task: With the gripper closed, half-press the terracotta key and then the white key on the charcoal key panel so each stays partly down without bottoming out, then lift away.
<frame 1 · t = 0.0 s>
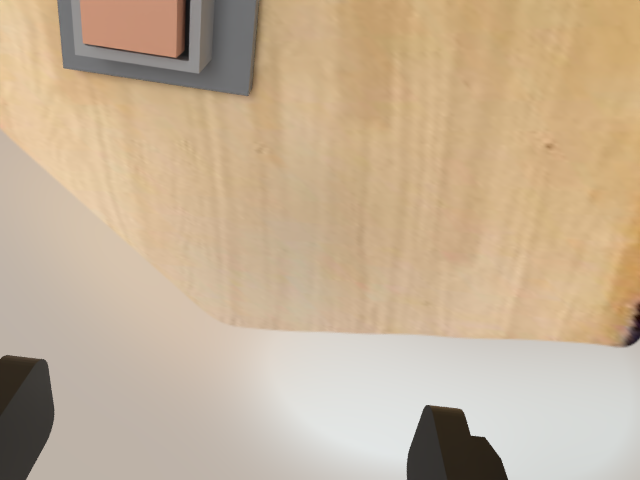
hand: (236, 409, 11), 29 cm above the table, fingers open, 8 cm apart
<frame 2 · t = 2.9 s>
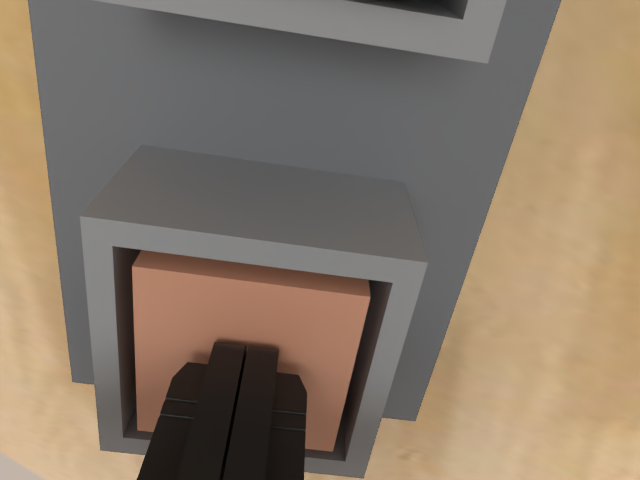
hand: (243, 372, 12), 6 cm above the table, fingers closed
terracotta key: (249, 340, 13), point 5 cm above the table, slide at 1.3 cm, touching gripper
key panel: (288, 70, 15), on the table
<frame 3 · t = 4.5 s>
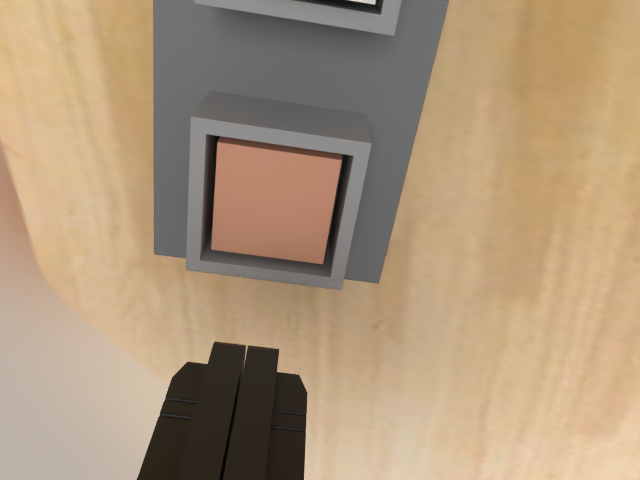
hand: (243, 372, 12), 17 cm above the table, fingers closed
terracotta key: (275, 196, 23), point 5 cm above the table, slide at 1.7 cm
key panel: (296, 48, 25), on the table
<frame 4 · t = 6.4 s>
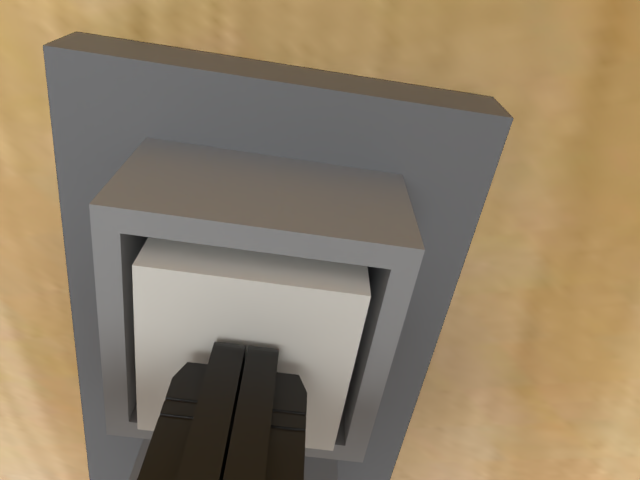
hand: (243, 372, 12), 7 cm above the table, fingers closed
white key: (249, 339, 13), point 6 cm above the table, slide at 0.8 cm, touching gripper
key panel: (255, 352, 21), on the table
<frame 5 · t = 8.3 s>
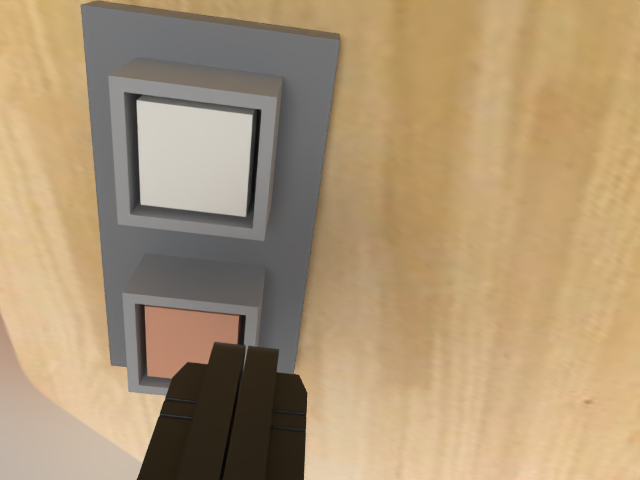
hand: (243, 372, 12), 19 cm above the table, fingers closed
white key: (198, 154, 25), point 5 cm above the table, slide at 1.7 cm
terracotta key: (195, 335, 31), point 5 cm above the table, slide at 1.7 cm
key panel: (212, 214, 32), on the table
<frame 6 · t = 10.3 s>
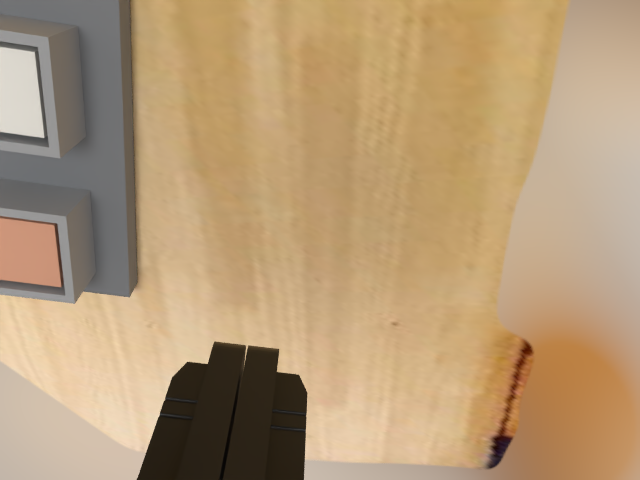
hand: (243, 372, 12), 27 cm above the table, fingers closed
white key: (4, 85, 31), point 5 cm above the table, slide at 1.7 cm
terracotta key: (27, 244, 37), point 5 cm above the table, slide at 1.7 cm
key panel: (49, 146, 38), on the table
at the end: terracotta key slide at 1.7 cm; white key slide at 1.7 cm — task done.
